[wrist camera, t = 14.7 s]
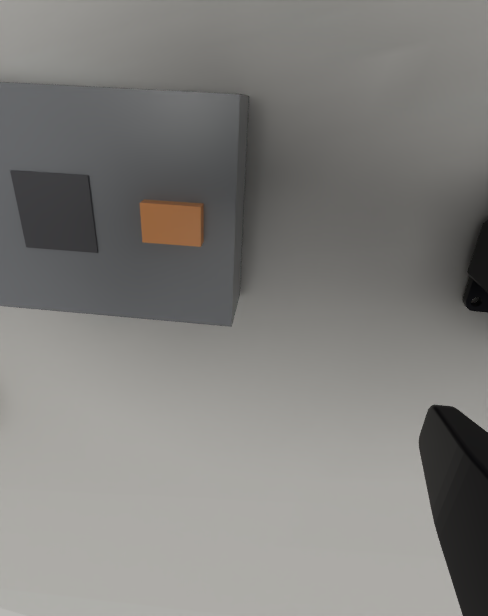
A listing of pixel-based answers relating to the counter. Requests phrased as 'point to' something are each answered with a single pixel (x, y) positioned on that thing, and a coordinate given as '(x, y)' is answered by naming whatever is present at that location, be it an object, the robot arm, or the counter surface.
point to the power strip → (122, 201)
